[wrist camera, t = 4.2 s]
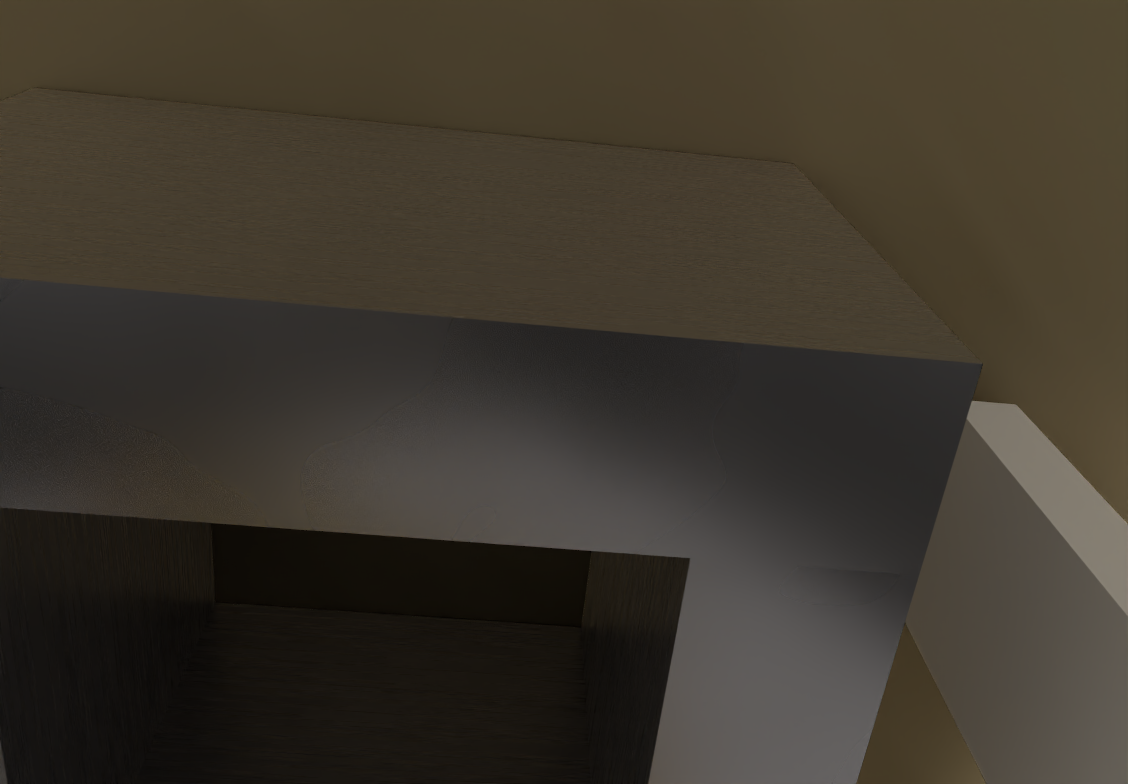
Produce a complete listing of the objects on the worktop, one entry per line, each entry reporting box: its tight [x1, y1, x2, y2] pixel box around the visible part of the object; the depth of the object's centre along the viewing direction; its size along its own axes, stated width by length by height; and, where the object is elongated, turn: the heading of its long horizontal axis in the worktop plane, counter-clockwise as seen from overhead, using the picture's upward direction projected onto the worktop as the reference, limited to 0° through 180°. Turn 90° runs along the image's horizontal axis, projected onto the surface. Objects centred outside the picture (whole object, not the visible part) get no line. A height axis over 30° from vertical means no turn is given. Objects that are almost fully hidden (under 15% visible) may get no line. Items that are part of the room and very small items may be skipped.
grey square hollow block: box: [0, 88, 983, 784], centre depth 10 cm, size 8×8×5 cm
